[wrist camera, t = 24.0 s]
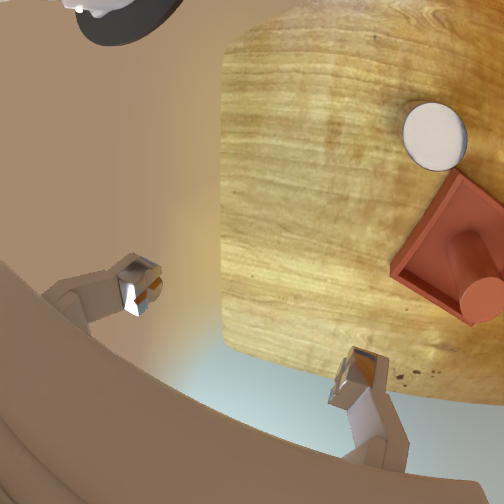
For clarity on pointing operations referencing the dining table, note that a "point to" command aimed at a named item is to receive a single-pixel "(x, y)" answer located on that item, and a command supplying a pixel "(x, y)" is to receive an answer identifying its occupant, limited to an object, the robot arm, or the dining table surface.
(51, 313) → the robot arm
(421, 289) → the rust tray
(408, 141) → the slate-blue canister
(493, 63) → the dining table surface
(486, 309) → the terracotta canister
